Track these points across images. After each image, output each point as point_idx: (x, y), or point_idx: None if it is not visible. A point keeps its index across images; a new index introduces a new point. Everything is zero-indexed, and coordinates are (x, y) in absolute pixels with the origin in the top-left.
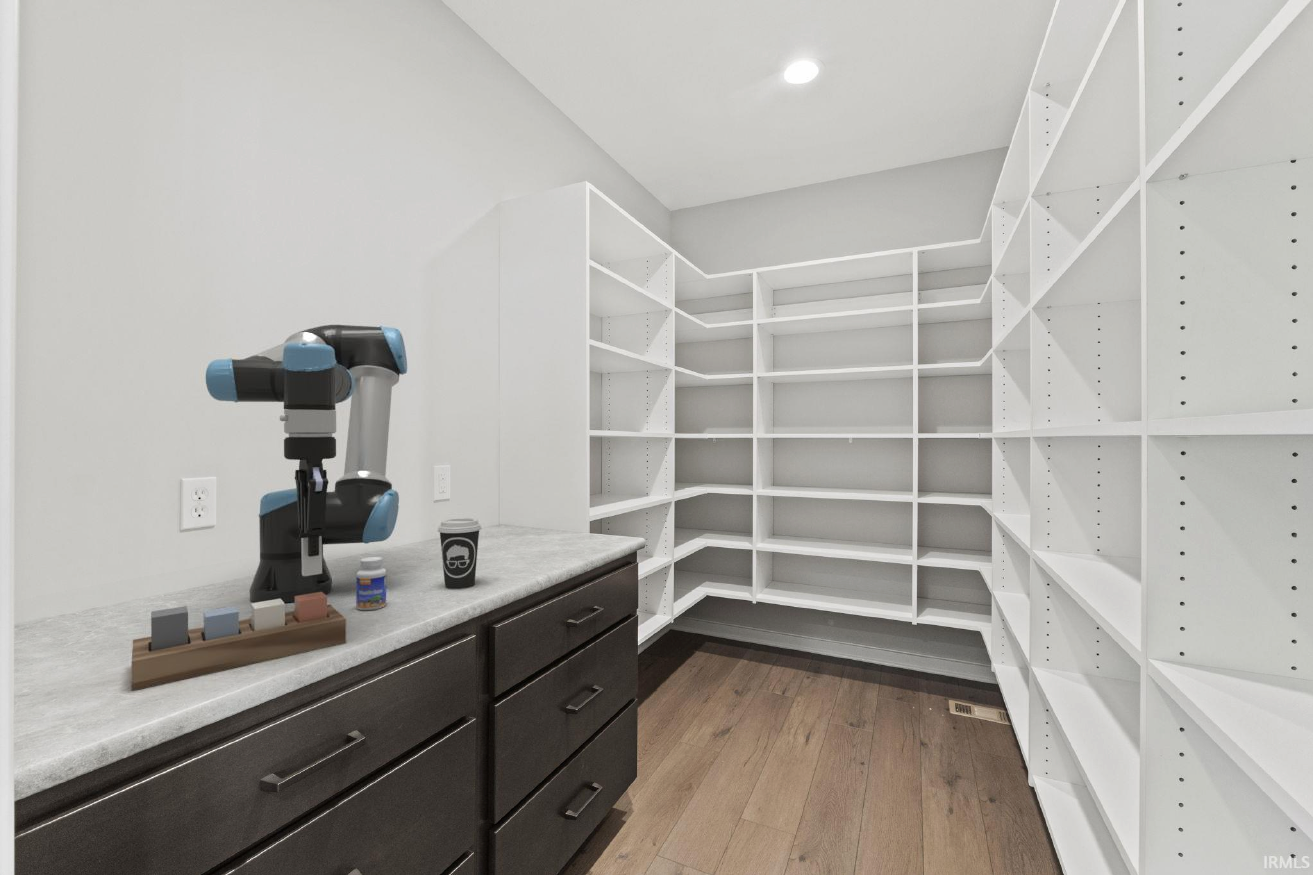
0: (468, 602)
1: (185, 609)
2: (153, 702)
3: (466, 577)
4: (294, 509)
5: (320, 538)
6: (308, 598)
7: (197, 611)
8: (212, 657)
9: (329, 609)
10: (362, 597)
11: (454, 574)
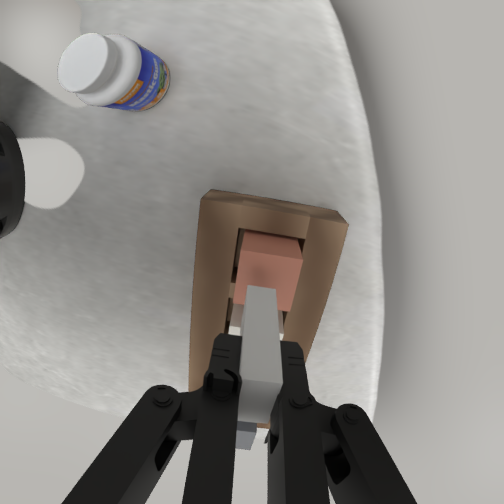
0: None
1: (237, 431)
2: (328, 398)
3: None
4: None
5: (280, 376)
6: (283, 292)
7: (14, 292)
8: None
9: (246, 216)
10: (144, 102)
11: None
